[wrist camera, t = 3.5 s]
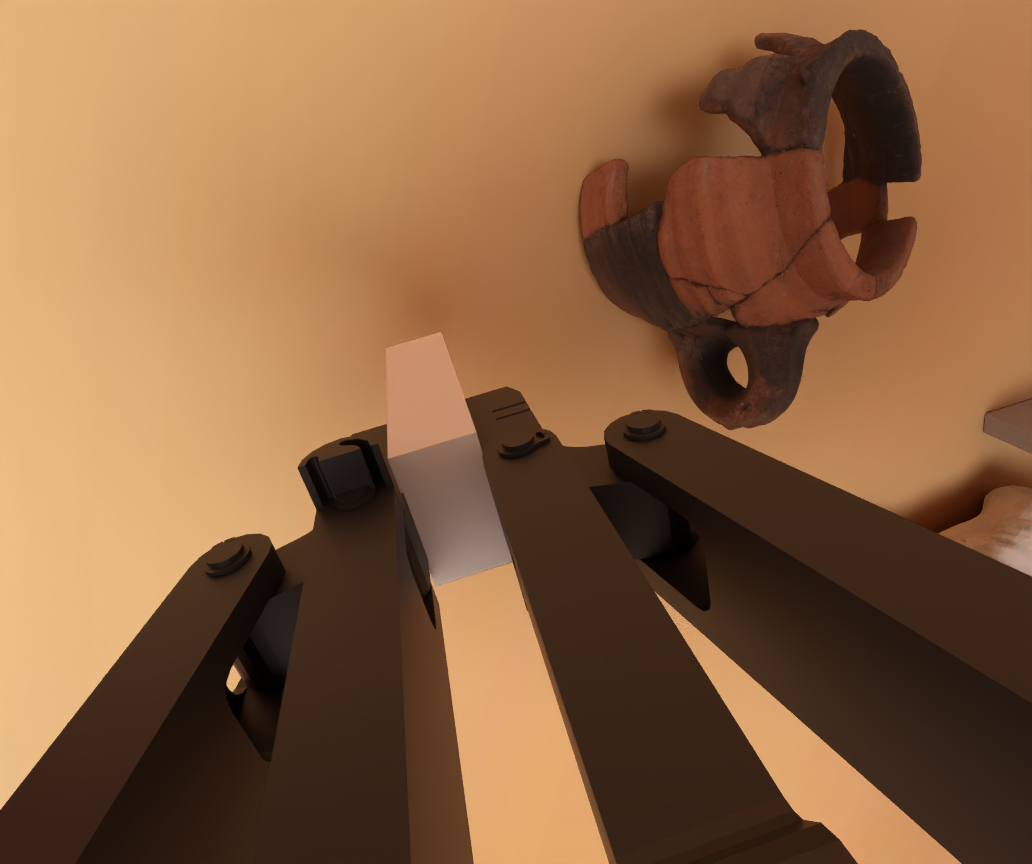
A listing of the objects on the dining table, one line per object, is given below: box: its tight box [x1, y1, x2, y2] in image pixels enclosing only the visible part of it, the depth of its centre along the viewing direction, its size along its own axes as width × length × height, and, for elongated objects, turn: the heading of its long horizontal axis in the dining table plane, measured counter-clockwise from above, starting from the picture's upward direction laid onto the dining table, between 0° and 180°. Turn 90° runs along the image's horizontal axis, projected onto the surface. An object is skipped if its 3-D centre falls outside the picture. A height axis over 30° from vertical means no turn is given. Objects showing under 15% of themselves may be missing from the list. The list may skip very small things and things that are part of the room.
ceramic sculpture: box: [938, 485, 1032, 576], centre depth 28 cm, size 11×9×15 cm
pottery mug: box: [580, 30, 922, 430], centre depth 21 cm, size 12×10×8 cm
